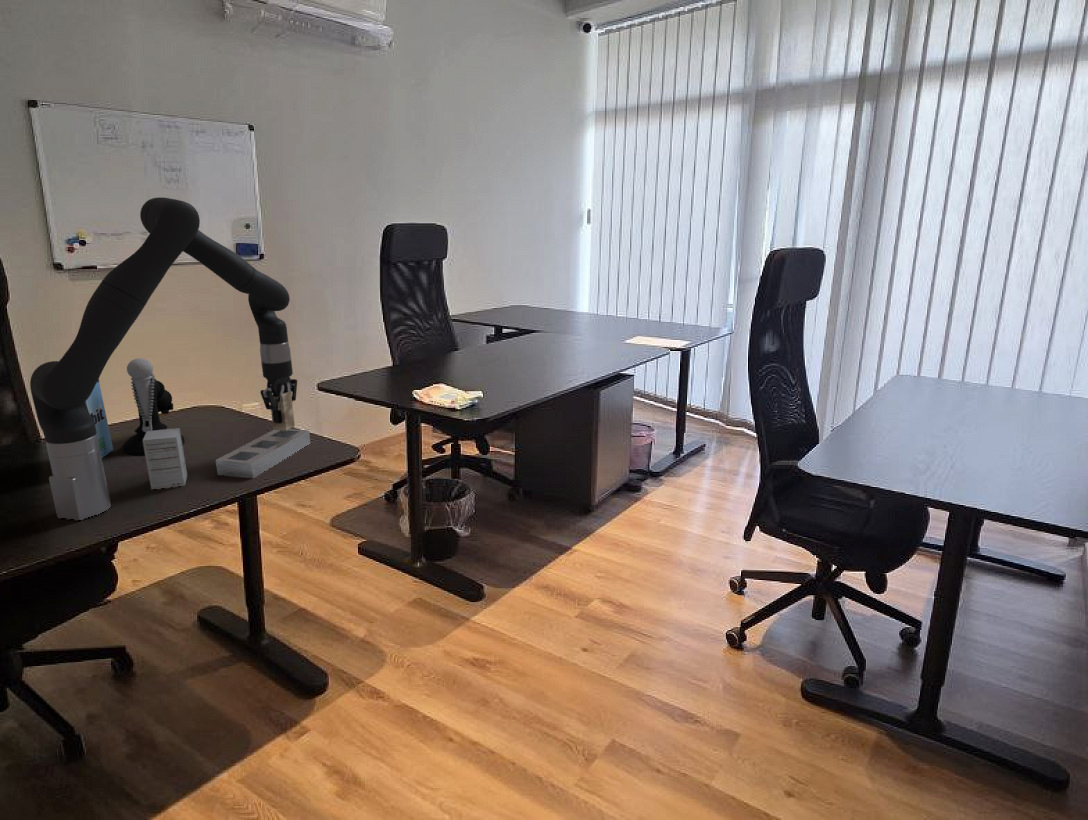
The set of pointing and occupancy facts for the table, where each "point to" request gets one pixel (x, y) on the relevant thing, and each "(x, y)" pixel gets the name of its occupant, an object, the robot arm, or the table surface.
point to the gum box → (99, 419)
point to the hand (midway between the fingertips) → (283, 420)
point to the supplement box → (165, 458)
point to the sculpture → (146, 403)
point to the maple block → (285, 413)
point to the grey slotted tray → (262, 453)
